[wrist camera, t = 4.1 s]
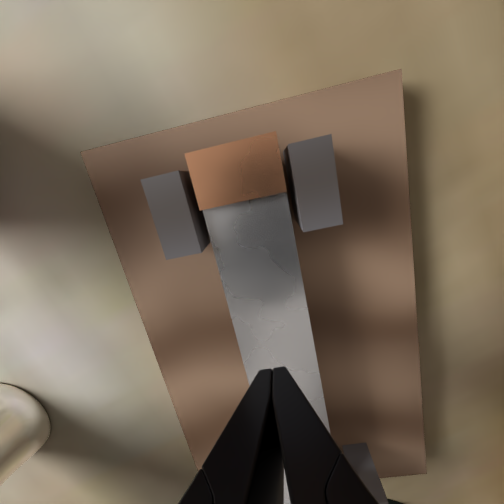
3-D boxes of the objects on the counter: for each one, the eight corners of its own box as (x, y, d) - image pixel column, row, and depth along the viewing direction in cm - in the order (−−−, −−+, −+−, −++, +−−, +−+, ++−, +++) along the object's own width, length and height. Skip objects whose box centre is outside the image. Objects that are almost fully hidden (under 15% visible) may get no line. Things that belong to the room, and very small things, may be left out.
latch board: (413, 449, 18) (461, 538, 13) (211, 471, 19) (195, 556, 15) (385, 81, 12) (452, 28, 8) (99, 154, 13) (21, 144, 9)
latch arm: (344, 490, 15) (354, 527, 14) (279, 496, 16) (280, 533, 14) (282, 136, 10) (285, 128, 9) (189, 158, 11) (176, 155, 9)
